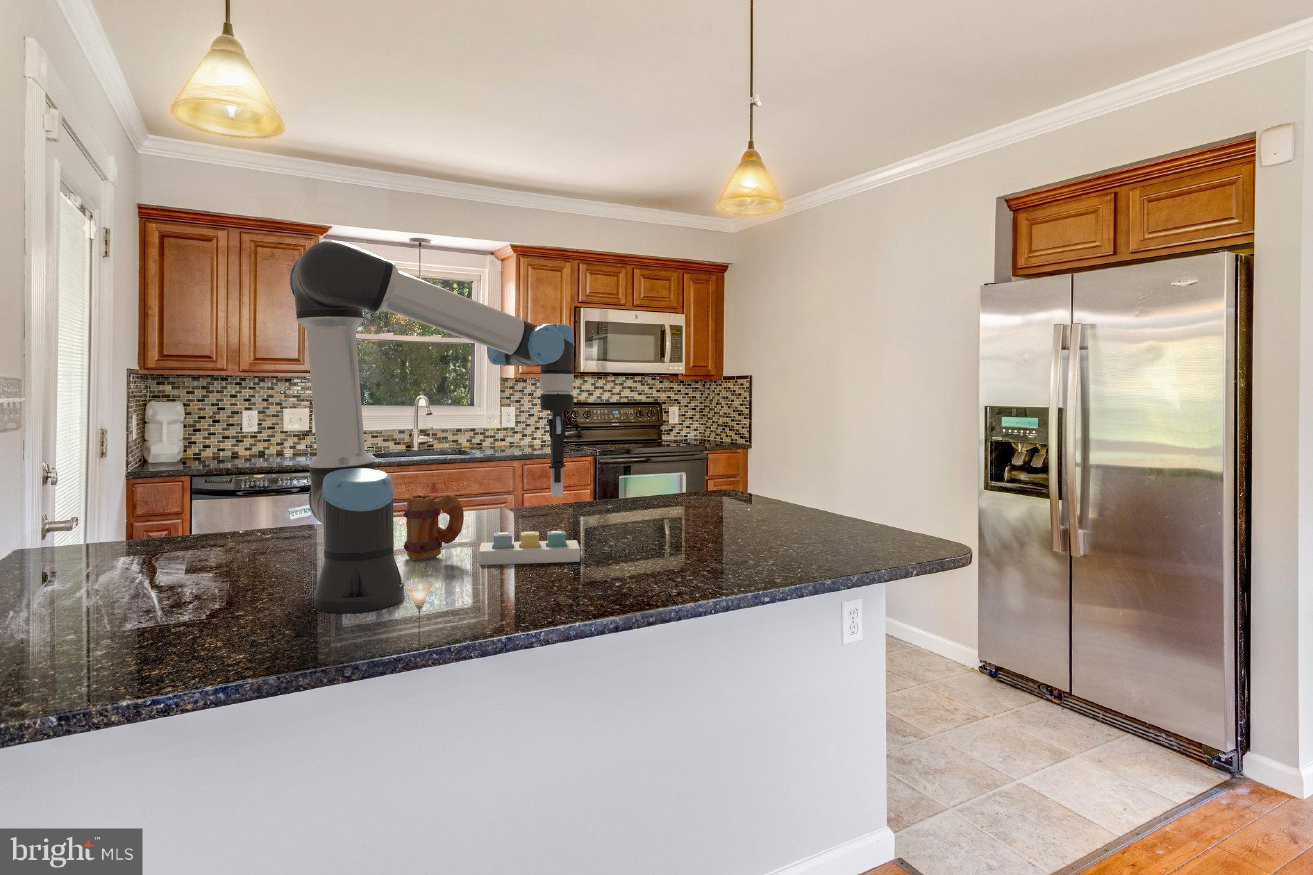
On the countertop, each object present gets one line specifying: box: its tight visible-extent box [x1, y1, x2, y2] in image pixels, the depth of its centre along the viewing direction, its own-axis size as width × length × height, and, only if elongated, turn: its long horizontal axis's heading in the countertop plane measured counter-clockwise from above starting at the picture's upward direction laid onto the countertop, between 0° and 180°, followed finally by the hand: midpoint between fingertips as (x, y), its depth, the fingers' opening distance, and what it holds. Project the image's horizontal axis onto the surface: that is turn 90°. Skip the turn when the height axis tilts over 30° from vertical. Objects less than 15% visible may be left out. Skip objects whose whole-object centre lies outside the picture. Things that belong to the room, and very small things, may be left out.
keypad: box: [478, 539, 581, 566], centre depth 164 cm, size 22×9×3 cm, turn 101°
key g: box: [546, 530, 567, 547], centre depth 165 cm, size 4×4×3 cm
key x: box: [520, 531, 540, 548], centre depth 164 cm, size 4×4×3 cm
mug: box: [402, 493, 465, 561], centre depth 162 cm, size 15×8×15 cm, turn 73°
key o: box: [493, 531, 513, 549], centre depth 163 cm, size 4×4×3 cm
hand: (557, 496), depth 165 cm, fingers closed
